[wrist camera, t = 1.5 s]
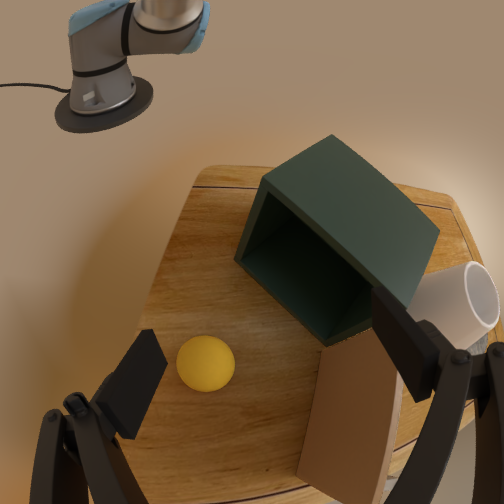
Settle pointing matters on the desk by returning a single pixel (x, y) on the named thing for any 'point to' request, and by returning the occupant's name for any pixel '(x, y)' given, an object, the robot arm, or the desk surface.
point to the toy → (205, 363)
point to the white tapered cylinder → (458, 303)
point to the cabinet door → (353, 422)
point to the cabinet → (334, 239)
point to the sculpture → (479, 345)
